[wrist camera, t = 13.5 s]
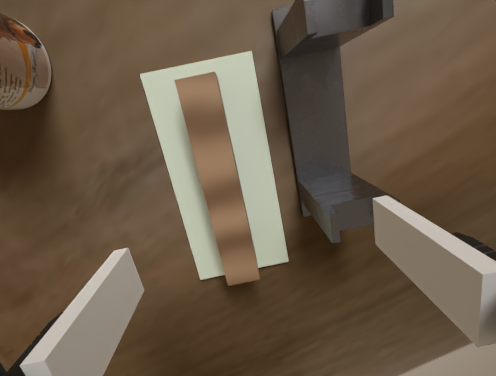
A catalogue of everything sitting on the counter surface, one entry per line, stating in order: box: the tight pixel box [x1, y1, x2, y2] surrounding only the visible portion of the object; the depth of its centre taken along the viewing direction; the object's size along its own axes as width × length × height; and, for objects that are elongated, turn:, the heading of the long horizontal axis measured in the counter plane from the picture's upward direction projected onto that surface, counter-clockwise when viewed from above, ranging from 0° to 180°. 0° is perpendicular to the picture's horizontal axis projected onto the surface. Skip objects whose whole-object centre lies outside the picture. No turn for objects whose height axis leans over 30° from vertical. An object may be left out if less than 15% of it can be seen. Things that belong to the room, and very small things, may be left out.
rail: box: [174, 72, 260, 286], centre depth 32 cm, size 24×4×6 cm, turn 11°
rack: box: [272, 0, 400, 243], centre depth 28 cm, size 25×7×12 cm, turn 11°
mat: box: [140, 51, 289, 280], centre depth 35 cm, size 28×13×1 cm, turn 11°
